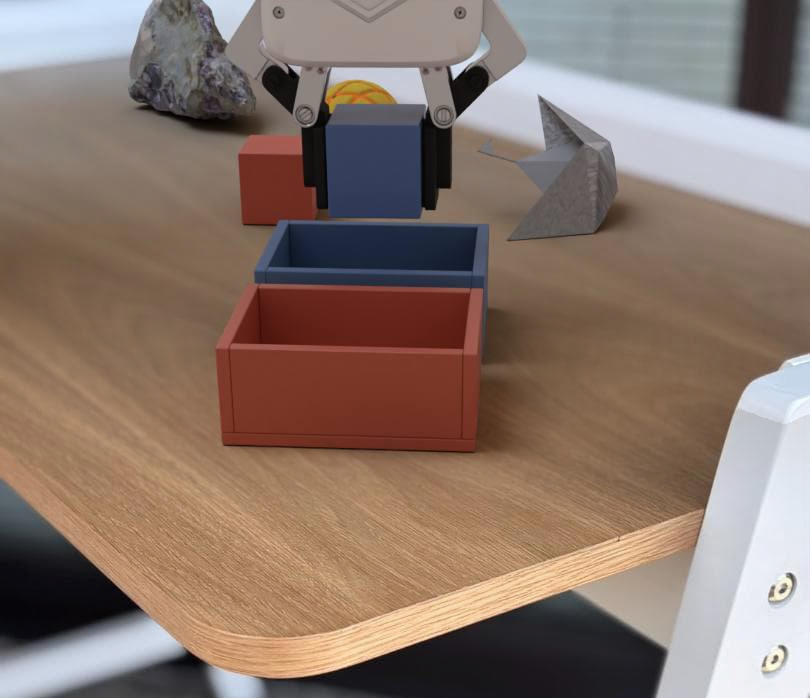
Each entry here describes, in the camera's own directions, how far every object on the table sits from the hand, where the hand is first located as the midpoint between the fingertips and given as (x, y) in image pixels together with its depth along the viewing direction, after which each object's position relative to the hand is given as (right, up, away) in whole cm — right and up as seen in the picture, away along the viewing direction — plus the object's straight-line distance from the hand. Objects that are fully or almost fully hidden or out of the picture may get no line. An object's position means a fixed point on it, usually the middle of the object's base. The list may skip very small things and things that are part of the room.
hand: (378, 198), depth 75 cm
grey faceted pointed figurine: (+10, +4, +21) cm, 24 cm away
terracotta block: (-7, +4, +21) cm, 23 cm away
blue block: (0, 0, 0) cm, 0 cm away
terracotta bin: (-1, -11, -5) cm, 12 cm away
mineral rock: (-16, +16, +44) cm, 49 cm away
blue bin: (0, -6, +4) cm, 7 cm away
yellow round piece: (-2, +11, +34) cm, 36 cm away
